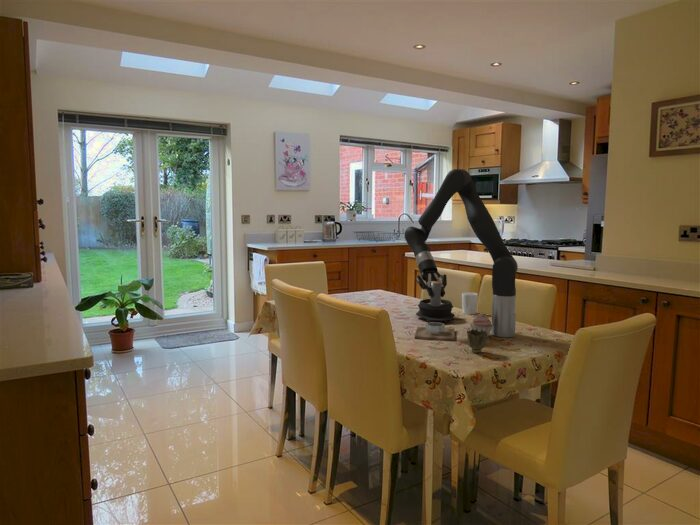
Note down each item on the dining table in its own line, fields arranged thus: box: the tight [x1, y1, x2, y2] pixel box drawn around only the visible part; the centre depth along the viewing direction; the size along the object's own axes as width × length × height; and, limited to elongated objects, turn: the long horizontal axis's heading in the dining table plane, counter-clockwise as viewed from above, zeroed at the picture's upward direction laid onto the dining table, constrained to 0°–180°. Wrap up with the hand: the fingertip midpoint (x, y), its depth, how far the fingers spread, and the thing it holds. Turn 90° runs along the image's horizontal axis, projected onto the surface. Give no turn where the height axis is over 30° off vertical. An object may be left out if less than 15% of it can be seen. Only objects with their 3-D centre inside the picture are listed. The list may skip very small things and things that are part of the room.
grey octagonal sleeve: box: [425, 321, 446, 335], centre depth 204 cm, size 8×8×4 cm
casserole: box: [415, 298, 456, 322], centre depth 234 cm, size 25×19×8 cm
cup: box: [466, 328, 488, 354], centre depth 179 cm, size 8×7×8 cm
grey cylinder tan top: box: [429, 281, 442, 306], centre depth 203 cm, size 4×4×10 cm
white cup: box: [461, 291, 479, 315], centre depth 246 cm, size 8×8×10 cm
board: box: [414, 326, 456, 342], centre depth 204 cm, size 16×16×1 cm
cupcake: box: [469, 312, 493, 338], centre depth 202 cm, size 9×9×10 cm
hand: (437, 296), depth 201 cm, fingers closed on grey cylinder tan top, 4 cm apart
